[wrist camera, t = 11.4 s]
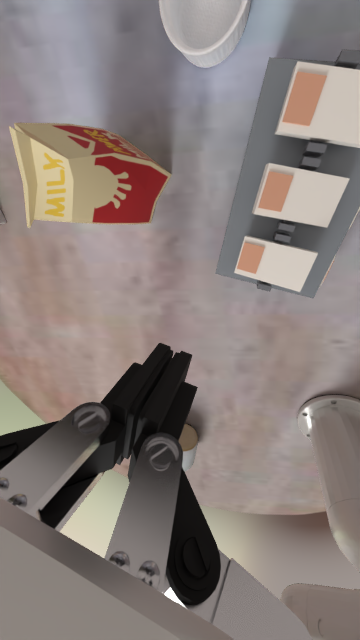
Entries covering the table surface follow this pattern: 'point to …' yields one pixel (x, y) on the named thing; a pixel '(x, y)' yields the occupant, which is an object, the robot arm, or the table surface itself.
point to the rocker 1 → (322, 105)
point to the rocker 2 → (275, 262)
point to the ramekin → (204, 27)
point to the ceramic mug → (188, 446)
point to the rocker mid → (298, 195)
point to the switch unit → (296, 155)
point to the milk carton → (85, 175)
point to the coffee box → (2, 218)
